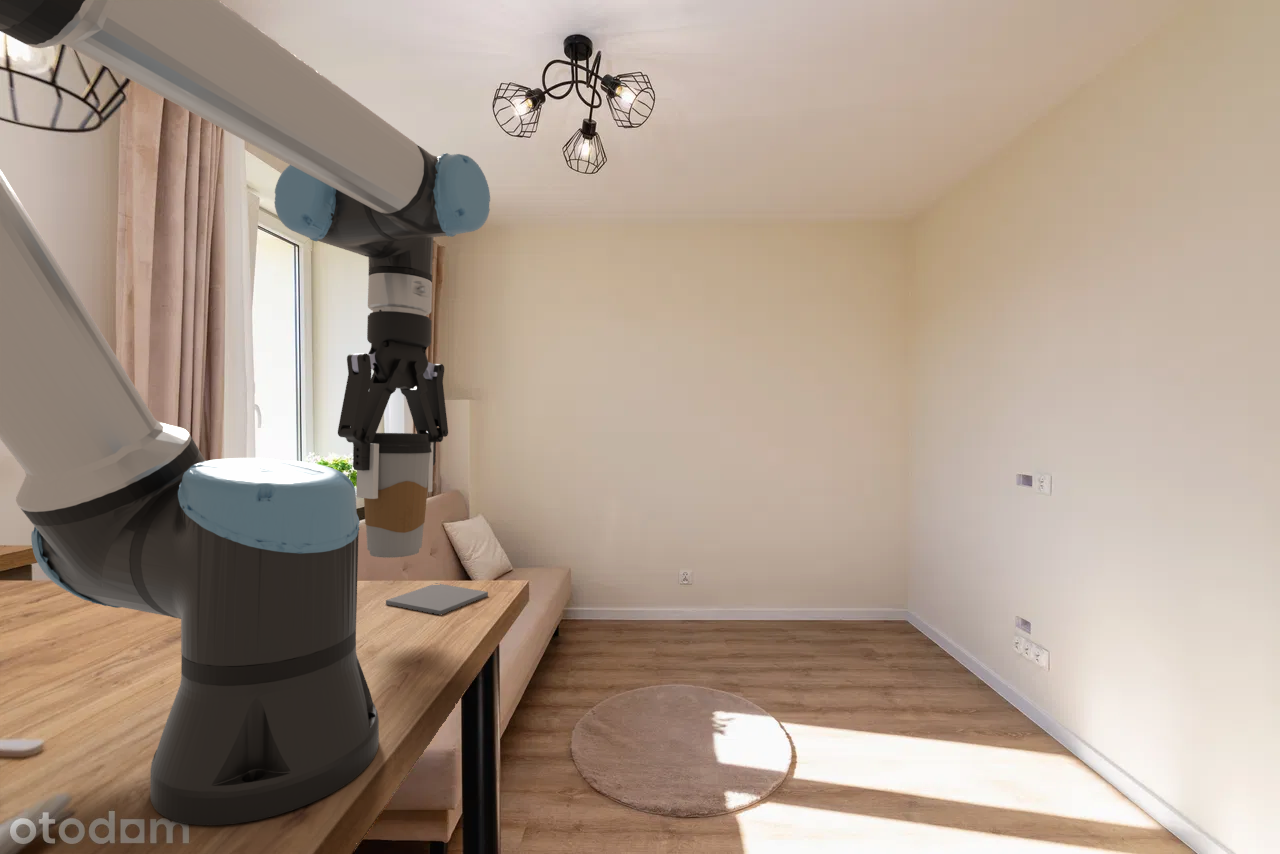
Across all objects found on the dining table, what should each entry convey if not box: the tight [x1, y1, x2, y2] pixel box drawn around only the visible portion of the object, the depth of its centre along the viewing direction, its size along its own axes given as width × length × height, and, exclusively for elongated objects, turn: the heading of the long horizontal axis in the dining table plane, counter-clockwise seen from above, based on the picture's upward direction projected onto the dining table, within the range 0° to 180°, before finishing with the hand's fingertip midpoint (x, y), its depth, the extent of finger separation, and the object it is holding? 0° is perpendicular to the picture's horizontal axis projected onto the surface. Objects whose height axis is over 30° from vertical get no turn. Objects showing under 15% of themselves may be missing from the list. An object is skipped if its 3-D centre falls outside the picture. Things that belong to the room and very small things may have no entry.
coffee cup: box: [363, 432, 432, 559], centre depth 79 cm, size 8×8×15 cm
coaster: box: [385, 583, 489, 616], centre depth 91 cm, size 10×10×1 cm
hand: (396, 494), depth 79 cm, fingers closed on coffee cup, 8 cm apart
